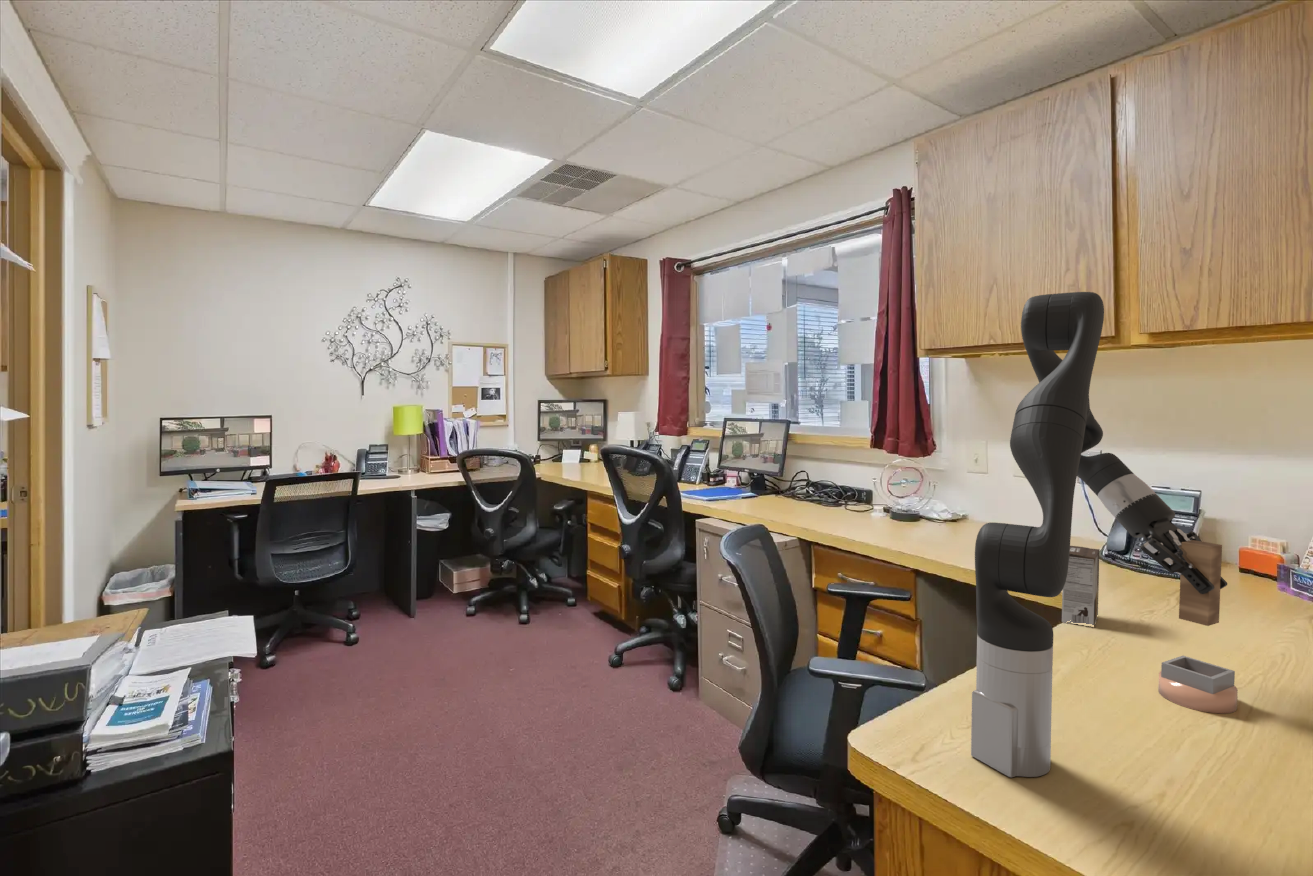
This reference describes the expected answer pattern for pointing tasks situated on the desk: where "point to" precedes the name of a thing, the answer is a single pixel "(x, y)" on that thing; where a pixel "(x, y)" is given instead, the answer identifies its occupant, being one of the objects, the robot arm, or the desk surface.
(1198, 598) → the brown wooden block
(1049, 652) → the robot arm
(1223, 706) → the dish
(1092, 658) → the desk surface
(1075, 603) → the coffee box
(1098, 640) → the desk surface
